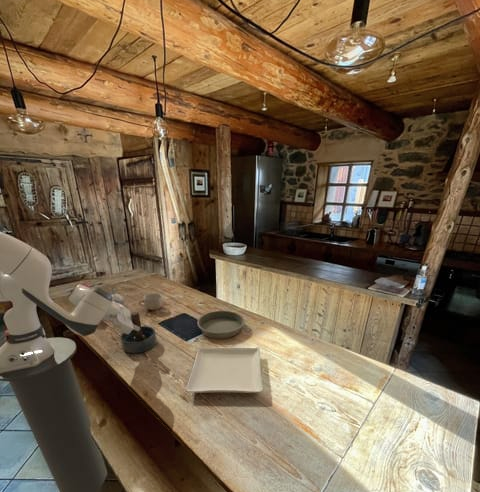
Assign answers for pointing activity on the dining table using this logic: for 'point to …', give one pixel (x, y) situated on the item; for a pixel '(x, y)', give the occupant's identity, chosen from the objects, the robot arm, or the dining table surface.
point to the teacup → (152, 301)
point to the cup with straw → (117, 297)
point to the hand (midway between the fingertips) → (138, 326)
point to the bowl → (140, 346)
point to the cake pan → (220, 324)
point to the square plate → (226, 371)
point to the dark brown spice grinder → (136, 321)
